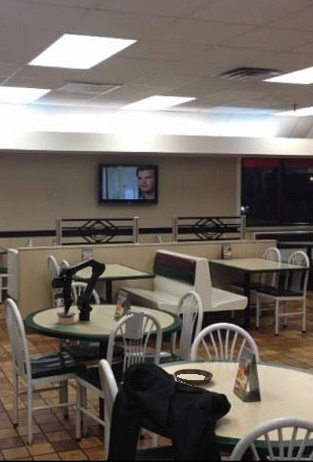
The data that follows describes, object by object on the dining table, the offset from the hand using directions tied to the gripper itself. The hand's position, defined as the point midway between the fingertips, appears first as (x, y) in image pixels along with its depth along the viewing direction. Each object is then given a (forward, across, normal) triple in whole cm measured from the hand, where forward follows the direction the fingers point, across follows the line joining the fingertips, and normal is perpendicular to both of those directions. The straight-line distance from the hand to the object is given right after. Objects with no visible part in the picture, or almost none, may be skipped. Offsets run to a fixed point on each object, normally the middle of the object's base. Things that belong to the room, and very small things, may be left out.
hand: (66, 312), depth 390 cm
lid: (+2, 0, 0) cm, 2 cm away
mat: (+7, +12, -2) cm, 14 cm away
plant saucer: (+7, +125, +40) cm, 131 cm away
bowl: (+7, 0, 0) cm, 7 cm away
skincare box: (+7, +43, +33) cm, 55 cm away
